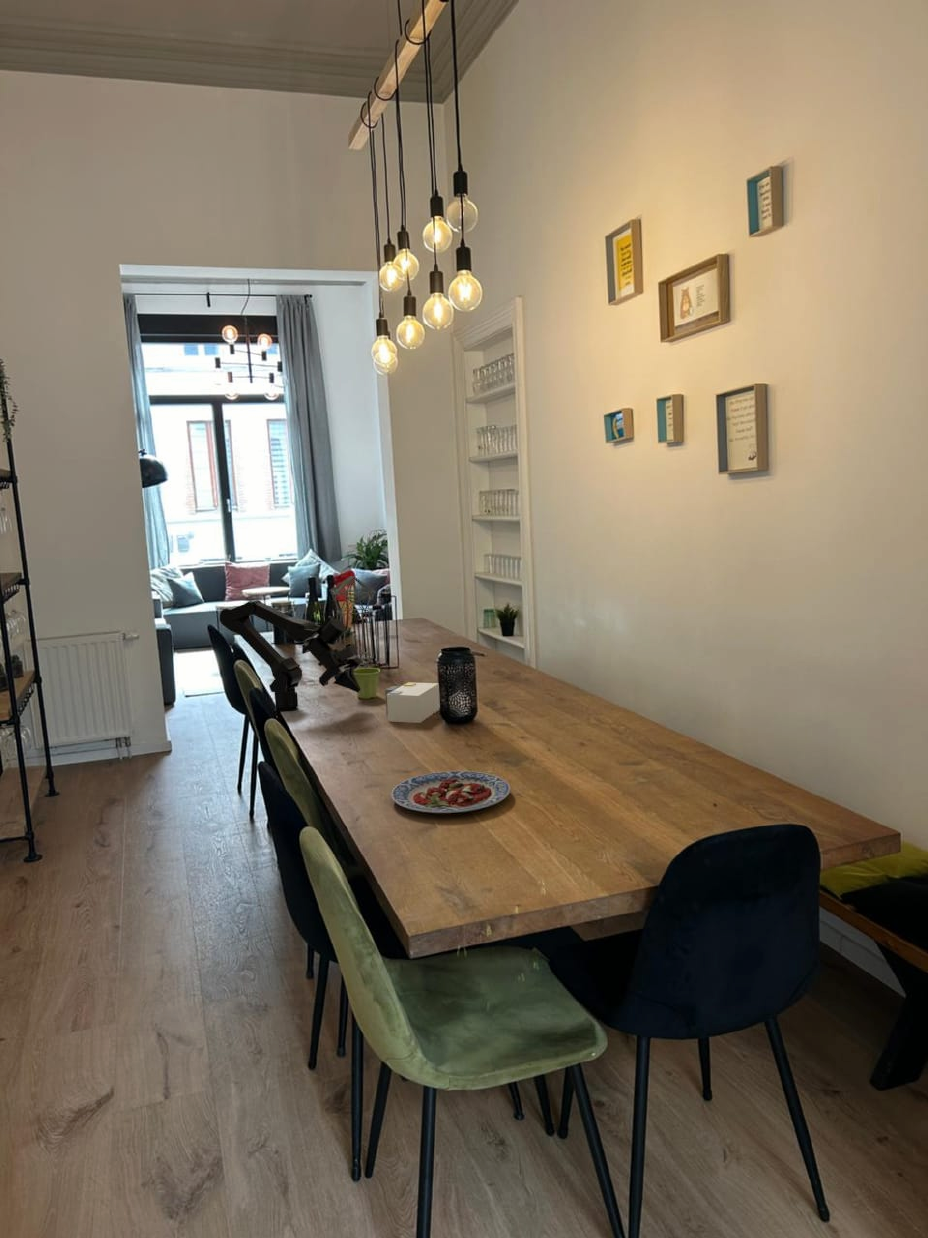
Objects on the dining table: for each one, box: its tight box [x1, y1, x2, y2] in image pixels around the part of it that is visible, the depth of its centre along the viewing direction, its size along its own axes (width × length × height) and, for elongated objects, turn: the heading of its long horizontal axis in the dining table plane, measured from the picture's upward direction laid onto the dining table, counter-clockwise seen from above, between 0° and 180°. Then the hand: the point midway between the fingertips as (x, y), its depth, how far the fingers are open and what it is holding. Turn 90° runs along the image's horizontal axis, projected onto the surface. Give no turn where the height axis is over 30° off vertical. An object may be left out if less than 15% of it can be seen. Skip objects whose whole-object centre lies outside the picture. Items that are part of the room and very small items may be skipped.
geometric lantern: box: [328, 576, 377, 670], centre depth 335 cm, size 16×16×35 cm
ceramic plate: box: [390, 770, 511, 814], centre depth 193 cm, size 26×26×3 cm
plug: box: [384, 685, 401, 716], centre depth 265 cm, size 9×5×8 cm, turn 71°
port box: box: [387, 681, 441, 724], centre depth 264 cm, size 10×16×8 cm, turn 161°
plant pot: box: [354, 667, 381, 700], centre depth 290 cm, size 9×9×9 cm
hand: (359, 691), depth 270 cm, fingers closed
